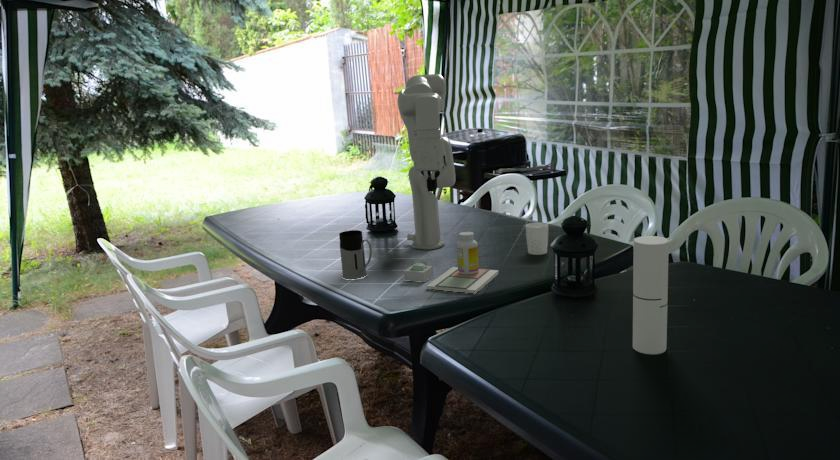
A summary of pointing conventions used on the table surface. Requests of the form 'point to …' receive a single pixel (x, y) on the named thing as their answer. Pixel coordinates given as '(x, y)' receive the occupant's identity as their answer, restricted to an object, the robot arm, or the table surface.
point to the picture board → (463, 280)
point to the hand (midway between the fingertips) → (432, 190)
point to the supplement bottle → (467, 254)
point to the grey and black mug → (353, 254)
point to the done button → (418, 267)
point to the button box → (418, 274)
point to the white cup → (537, 238)
